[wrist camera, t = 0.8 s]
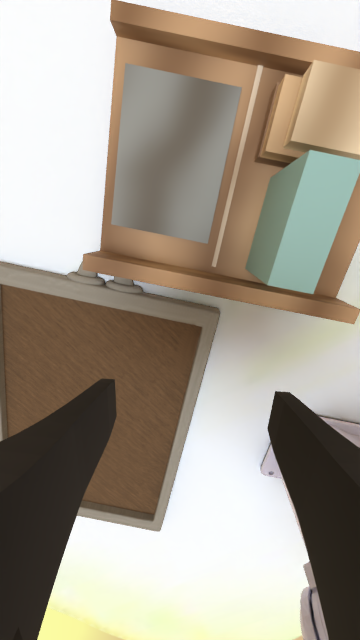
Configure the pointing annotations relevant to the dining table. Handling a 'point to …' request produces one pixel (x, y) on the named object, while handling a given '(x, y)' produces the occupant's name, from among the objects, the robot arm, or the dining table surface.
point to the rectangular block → (301, 220)
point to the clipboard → (106, 376)
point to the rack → (203, 158)
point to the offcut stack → (312, 115)
